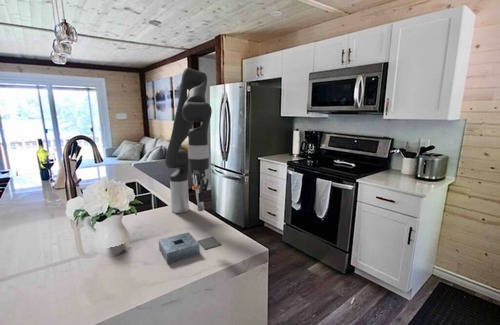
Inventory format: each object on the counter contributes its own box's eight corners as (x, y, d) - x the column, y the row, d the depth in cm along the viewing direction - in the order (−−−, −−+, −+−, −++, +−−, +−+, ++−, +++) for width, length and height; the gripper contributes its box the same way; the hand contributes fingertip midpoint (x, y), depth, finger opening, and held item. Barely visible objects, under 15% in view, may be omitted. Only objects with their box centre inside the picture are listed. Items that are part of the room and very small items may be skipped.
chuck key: (204, 207, 105) (201, 181, 102) (208, 208, 103) (205, 182, 101) (193, 211, 101) (190, 184, 99) (197, 212, 100) (194, 185, 97)
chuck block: (159, 249, 102) (158, 239, 101) (189, 241, 108) (188, 232, 107) (167, 263, 92) (166, 253, 91) (199, 254, 98) (199, 244, 97)
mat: (197, 241, 108) (197, 240, 108) (213, 237, 111) (213, 236, 111) (205, 249, 101) (205, 248, 101) (221, 244, 105) (221, 244, 105)
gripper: (215, 158, 94) (216, 204, 97) (201, 153, 106) (203, 194, 109) (195, 160, 90) (196, 207, 94) (183, 154, 102) (185, 197, 105)
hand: (200, 200), depth 101 cm, fingers closed on chuck key, 2 cm apart
